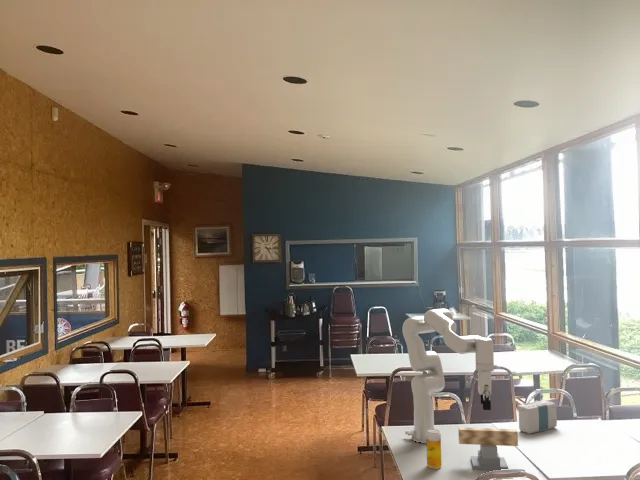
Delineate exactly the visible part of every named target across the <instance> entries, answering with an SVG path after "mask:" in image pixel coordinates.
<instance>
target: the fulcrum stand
mask: <svg viewBox="0 0 640 480" xmlns="http://www.w3.org/2000/svg"><path fill="white" fill-rule="evenodd" d="M497 446H498V445H479V449H477V455H471V456H470V462H471V465H472V470H477V471H478V470H479V471H480V470H481V471H496V470H501V469H508V470H509V467H508V464H507V462H506V459H505V457H504V456H500V455H499V453H498V447H497Z"/></svg>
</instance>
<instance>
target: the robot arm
mask: <svg viewBox="0 0 640 480" xmlns="http://www.w3.org/2000/svg"><path fill="white" fill-rule="evenodd" d="M453 317H454V316H453V313H452V312H451V311H450V310H449V309H447V308H434V309H433V308H432V309H429V310H427V311H426V312H425V313H424V314H423V315H418V316H412V317H411V316H410V317H408V318H406V319H405V320H404V322H403V324H402V330H401V331H402V335H403V339H404V341H405V343H406V349H407V355H408V358H409V363H410V368H411V370H412V371H414V372H417V373H421V372H428V373H422V374H418V375H415V376H414V377H413V378H412V379H411V382H410V383H411V385H410V386H411V392H412V396H413V417H414V418H413V420H414V421H413V423H414V427H413V429H412V430H407V429H406V430H404V433H405V435H407V436H411V440H412V439H413V440H414V441H413V440H412V441H413V442H415V441H416V442H415V443H418V442H421V443H420V444H426V433H427V430H430V429H435V417H434V416H435V414H434V413H435V412H434V411H435V409H434V400H433V399H432V397H431V396H430V394H434V393H438V392H442V391H443V390H444V389H445V386H446V381H445V375H444V369H443V366H442V365H443V364H442V362H441V361H442V360H441V358H440V355H439V354H438V353H437V352H436V351H434V350H426V347H425V343H424V341H423V339H422V338H421V337H420V336H419V334H428V333H434V332H436V333H438V334H440V335H441V336H442V339H443V341H444V344H445V345H446V347H448V348H449V349H450V350H452V351H453V352H455V353H456V354H460V355H464V354H473V353H475V371H477V390H478V394H479V396H480V404H481V405H482V410H484V411H491V410H492V405H491V404H492V403H491V402H492V401H491V396H492V372H494V371H495V368H494V367H495V363H494V361H495V360H494V359H495V358H494V340H493V339H492V338H491V337H484V336H483V337H482V336H480V335H476V334H475V335H474V334H473V335H463V336H460V335H458V334H456V332H457V323H456V321H454V318H453Z"/></svg>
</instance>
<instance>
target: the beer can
mask: <svg viewBox="0 0 640 480" xmlns="http://www.w3.org/2000/svg"><path fill="white" fill-rule="evenodd" d="M441 436H442V435H441V432H440V430H438V429H435V428H434V429H430V430H427V433H426V443H425V444H426V465H427V466H428V468H429V469H431V470H432V469H433V470H438V469H440V468H441V467H442V438H441Z"/></svg>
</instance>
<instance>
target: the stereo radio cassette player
mask: <svg viewBox="0 0 640 480" xmlns="http://www.w3.org/2000/svg"><path fill="white" fill-rule="evenodd" d="M542 390H543V388H541V389H540V390H538V392H537V393H536V394H534V396H533V397H532V398H531V399H529V400H528V401H527V402H526V403H523V404H517V410H518V425H519V426H518V429H519V431H520V432H523V433H525V434H527V435H530V434H534V433H538V432H542V431H546V430H550V429H554V428H556V427H557V425H558V424H557V423H558V421H557V419H558V417H557V404H556V403H555V402H554V401H553V402H552V401H548V400H544V399H543V400H538V401H533V402H531V401H532V400H534V398H535V397H537V396H538V394H539V393H540V392H541V391H542Z"/></svg>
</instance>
